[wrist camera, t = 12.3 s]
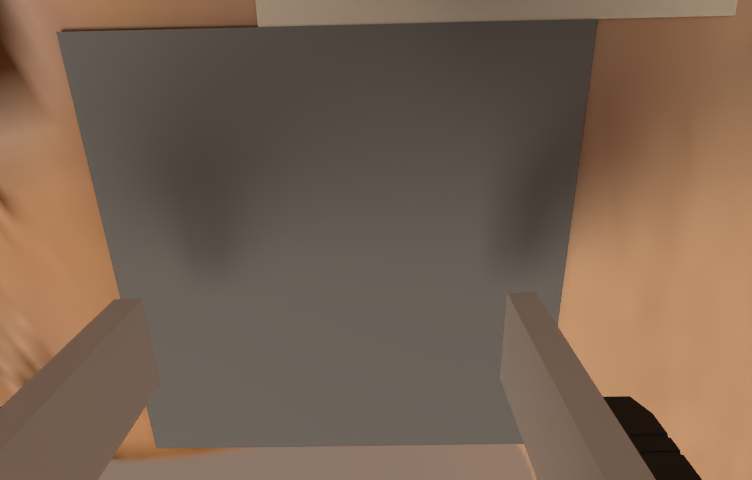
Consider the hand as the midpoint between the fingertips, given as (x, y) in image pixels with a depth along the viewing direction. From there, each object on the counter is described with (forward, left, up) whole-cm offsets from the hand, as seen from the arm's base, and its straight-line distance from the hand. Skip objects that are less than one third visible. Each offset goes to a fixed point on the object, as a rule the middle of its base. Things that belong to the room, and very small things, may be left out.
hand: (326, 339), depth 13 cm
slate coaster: (0, 0, -4) cm, 4 cm away
